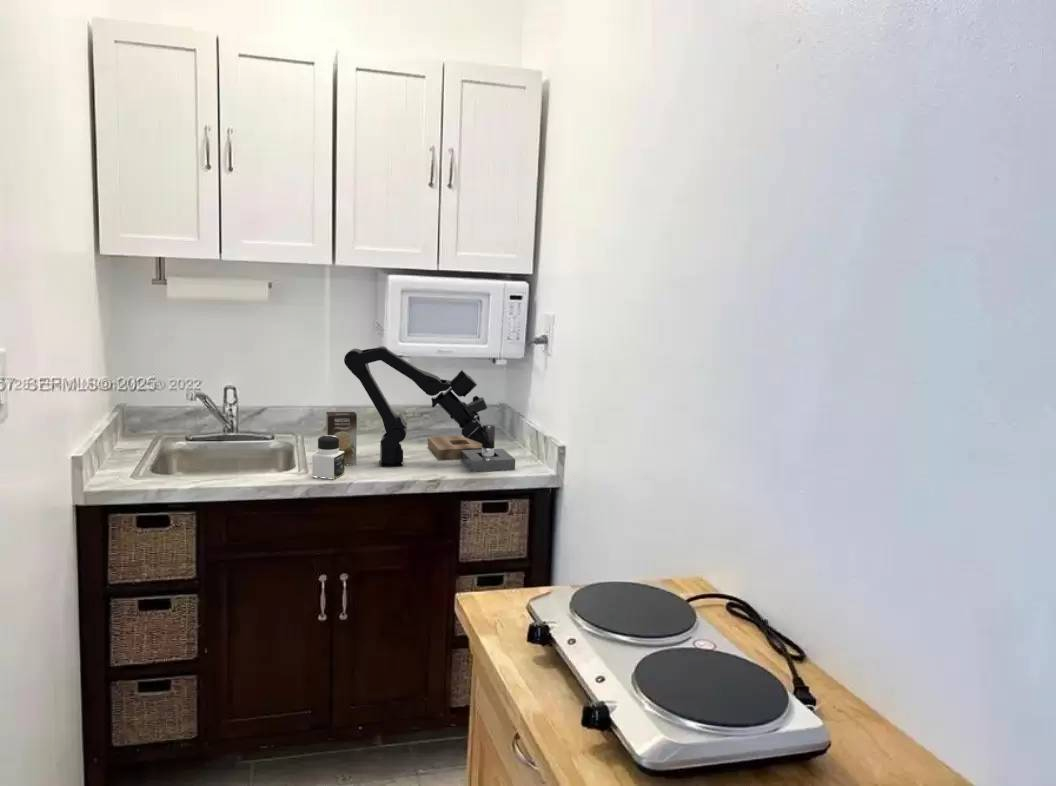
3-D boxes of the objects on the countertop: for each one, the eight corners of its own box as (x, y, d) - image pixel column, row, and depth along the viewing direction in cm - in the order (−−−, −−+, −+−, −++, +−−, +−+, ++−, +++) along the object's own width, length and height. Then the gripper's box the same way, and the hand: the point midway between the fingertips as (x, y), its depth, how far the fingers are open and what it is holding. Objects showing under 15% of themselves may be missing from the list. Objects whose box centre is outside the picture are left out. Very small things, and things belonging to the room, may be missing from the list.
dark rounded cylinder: (483, 467, 254) (484, 427, 251) (479, 464, 257) (481, 424, 255) (495, 466, 255) (496, 426, 253) (491, 463, 259) (493, 424, 256)
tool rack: (438, 460, 260) (439, 449, 259) (427, 447, 277) (427, 437, 276) (491, 457, 266) (492, 447, 265) (477, 445, 282) (478, 435, 282)
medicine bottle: (334, 480, 233) (334, 440, 231) (312, 478, 235) (311, 438, 232) (344, 473, 240) (344, 435, 238) (322, 471, 241) (322, 433, 239)
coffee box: (326, 466, 248) (326, 415, 245) (325, 461, 254) (325, 411, 251) (356, 465, 250) (357, 415, 248) (354, 459, 256) (354, 411, 254)
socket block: (472, 472, 247) (472, 461, 247) (461, 460, 260) (461, 450, 260) (514, 469, 252) (515, 459, 251) (502, 458, 265) (502, 448, 264)
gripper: (473, 394, 242) (508, 430, 245) (471, 384, 260) (504, 418, 263) (447, 419, 243) (482, 455, 246) (447, 408, 261) (480, 441, 264)
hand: (488, 441), depth 255 cm, fingers open, 9 cm apart
